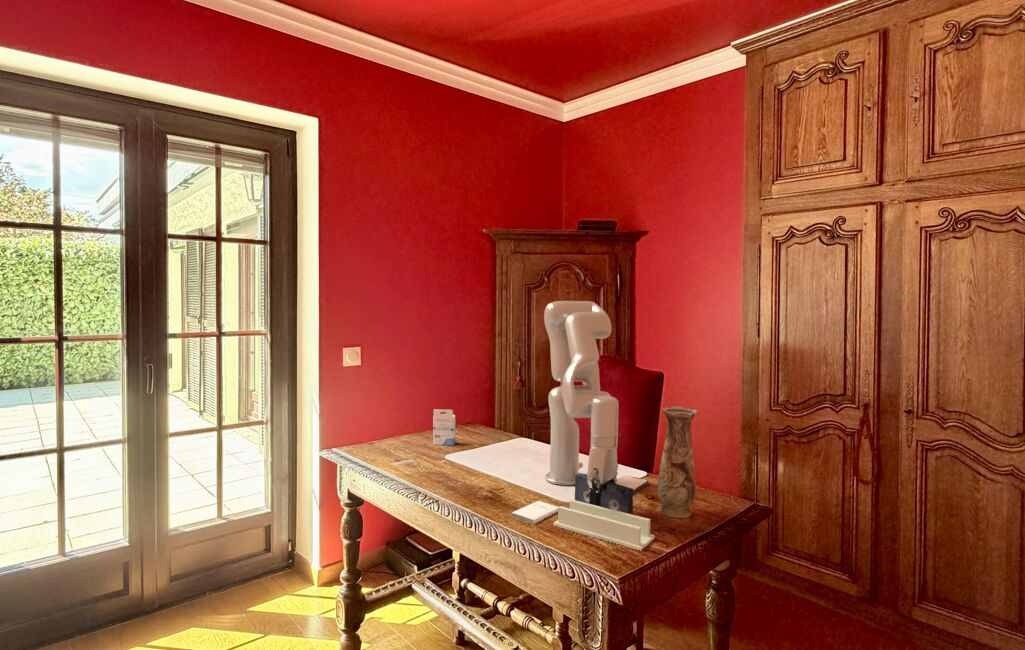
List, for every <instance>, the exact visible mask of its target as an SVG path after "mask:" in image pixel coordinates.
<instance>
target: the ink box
mask: <svg viewBox="0 0 1025 650" xmlns="http://www.w3.org/2000/svg"><path fill="white" fill-rule="evenodd" d="M432 422H433V423H432V427H433V428H432V430H433V431H432V433H433V434H432V438H433V439H432V440H433V441H432V444H433V446H454V445H455V443H456V415H455V414H454V410H453V409H435V408H434V409H433V417H432Z"/></svg>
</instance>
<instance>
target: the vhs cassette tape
mask: <svg viewBox="0 0 1025 650" xmlns="http://www.w3.org/2000/svg"><path fill="white" fill-rule="evenodd" d="M578 473H579V474H576V475H575V481H576V482H575V485H574V489H575V490H574V500H576V501H580V502H584V503H588V504H589V495H590V491H589V488H588V482H587V475H588V474H584V473H581V472H578ZM595 480H596V479H595ZM597 481H600V480H597ZM594 484H595V483H594ZM595 485H596V487H597V486H598V484H595ZM599 492H601V506H600V507H604V508H608V509H612V510H616V511H620V512H623V513H627V514H631V515H634V514H633V513H634V511H633V510H634V494H633V489H632V488H628V487H625V486H622V485H619V484H615V483H612V482H609V481H608V482H606V483H604V484H602V485H601V488H600V491H599Z"/></svg>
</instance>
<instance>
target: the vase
mask: <svg viewBox="0 0 1025 650" xmlns="http://www.w3.org/2000/svg"><path fill="white" fill-rule="evenodd" d="M662 411H663V412H664V413H663V414H664V415H665V417H666V421H667V422H666V423H667V424H666V425H667V426H666V433H665V439H664V445H663V449H662V454H661V455H662V456H661V461H660V466H659V472H658V476H657V477H658V478H657V496H658V497H657V498H658V500H659V502H660V503H661V506H660V508H659V512H660V514H662V515H664V516H667V517H671V518H676V519H686V518H690V517H691V516H692V512H691V510H690V507H692V506H693V504H694V502H695V498H696V488H697V487H696V486H697V485H696V472H695V463H694V461H695V460H694V451H693V441H692V428H691V427H692V421H693V420H694V418H695V417H696V415H697V413H698V410H697V409H695V408H694V409H691V408H684V407H683V406H676V405H675V406H671V407H670V408H669V407H668V406H667V407H665V408H664V407H662Z"/></svg>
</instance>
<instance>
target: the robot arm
mask: <svg viewBox="0 0 1025 650" xmlns="http://www.w3.org/2000/svg"><path fill="white" fill-rule="evenodd" d="M543 319H544V320H543V321H544V326H545V329H546V332H547V335H548V340H549V345H550V347H549V348H550V367H551V375H552V376H551V377H552V378H553V379H554V381H557V382H561V383H562V384H561V385H560V386H557V387H556V386H555V387H554V388H552V389H551V390H550V391H549V393H548V398H547V400H548V407H549V413H550V415H549V416H550V448H549V449H550V451H549V452H550V455H549V456H550V459H549V460H550V461H549V465H550V466H549V467H550V468H549V472H547V473H546V474H545V477H544V478H545V480H546V481H547V482H548V483H550V484H554V485H557V484H558V486H575V485H574V484H575V482H576V481H575V475H576V474H579V473H580V472H579V470H580V469H582V468H584V465H583V462H579V460H580V457H579V456H580V427H579V425H578V422H576V421H575V420H576V419H586V418H589V419H590V449H589V453H588V454H589V455H588V462H587V464H588V465H587V474H586V475H587V482H588V488H589V491H590V495H589V504H592V505H596V506H601V492H599V491H600V488H601V485H602V484H604V483H606V482H608V481H609V482H612V483H615V482H616V481H617V480H618V479H617V476H618V469H619V464H618V454H617V452H618V451H617V449H618V445H619V444H618V442H619V441H618V439H619V432H618V431H619V400H618V399H617V398H616V397H614V396H611V394H610V393H609V392H607V391H601V384H600V382H601V381H600V367H599V363H598V361H599V360H600V353H599V348H598V344H597V340H598V339H599V340H600V339H607V338H609V337H610V336H611V333H612V322H611V319H610V316H609V315H608V314H607V312H606V311H605V310H604V309H603V308H602V307H600V306H599V305H598V304H597V303H595V302H594V301H589V300H557V301H556V300H555V301H553V302H550V303H548V304H547V305H546V307H545V309H544V313H543ZM574 382H576V383H577V382H582V384H583V385H575V383H574ZM595 479H596V480H595ZM597 480H600V481H597ZM594 483H595V484H598V486H597V487H596V485H595V484H594ZM615 484H616V483H615Z"/></svg>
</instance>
